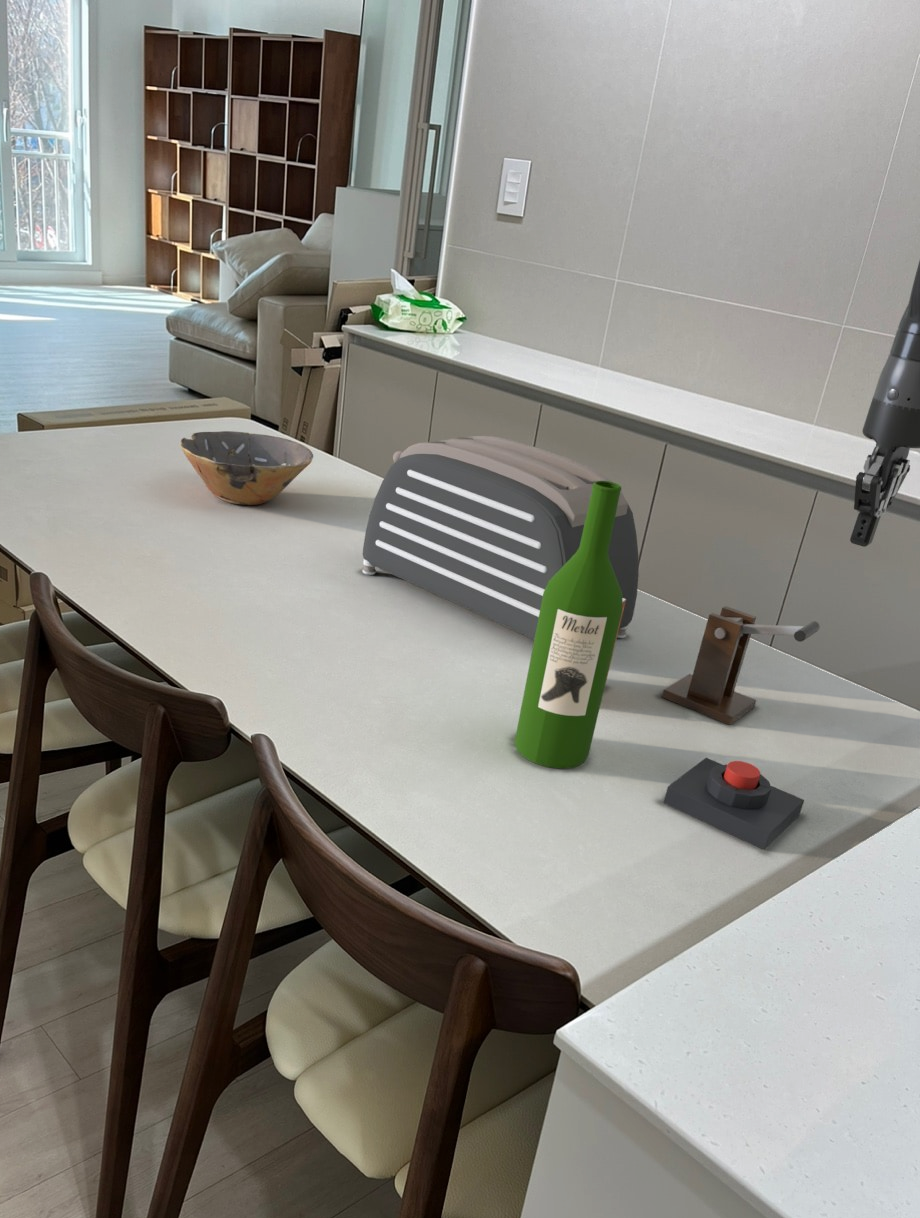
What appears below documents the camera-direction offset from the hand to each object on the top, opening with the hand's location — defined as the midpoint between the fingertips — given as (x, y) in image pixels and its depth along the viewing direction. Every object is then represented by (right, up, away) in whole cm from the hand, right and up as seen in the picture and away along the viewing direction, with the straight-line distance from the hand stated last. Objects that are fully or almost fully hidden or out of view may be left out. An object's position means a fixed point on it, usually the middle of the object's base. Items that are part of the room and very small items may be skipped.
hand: (860, 543), depth 130 cm
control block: (-19, -32, -10) cm, 38 cm away
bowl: (-85, +20, +72) cm, 113 cm away
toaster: (-43, -3, +39) cm, 58 cm away
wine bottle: (-38, -25, -2) cm, 46 cm away
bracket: (-14, -19, +14) cm, 28 cm away
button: (-19, -29, -12) cm, 36 cm away
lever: (-9, -11, +6) cm, 16 cm away
